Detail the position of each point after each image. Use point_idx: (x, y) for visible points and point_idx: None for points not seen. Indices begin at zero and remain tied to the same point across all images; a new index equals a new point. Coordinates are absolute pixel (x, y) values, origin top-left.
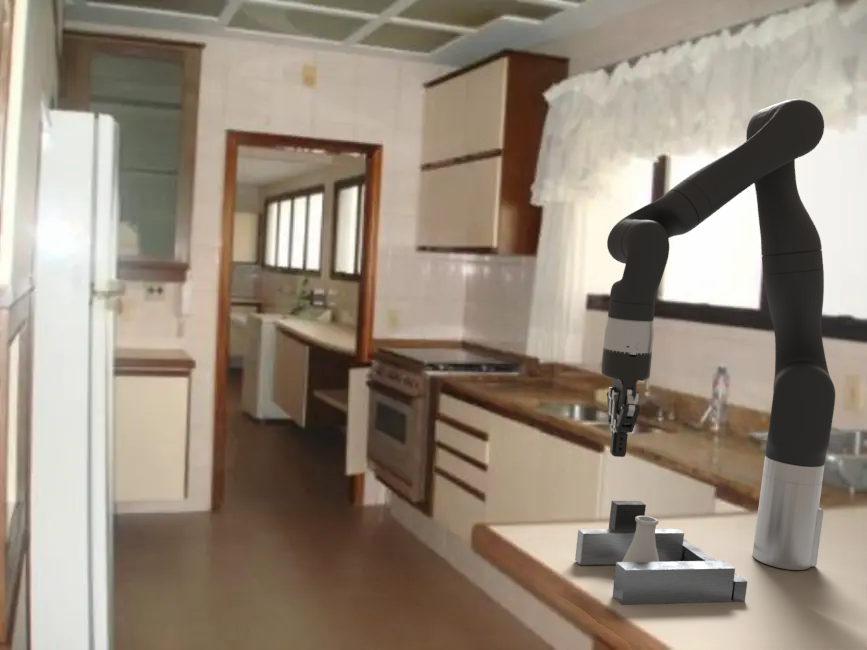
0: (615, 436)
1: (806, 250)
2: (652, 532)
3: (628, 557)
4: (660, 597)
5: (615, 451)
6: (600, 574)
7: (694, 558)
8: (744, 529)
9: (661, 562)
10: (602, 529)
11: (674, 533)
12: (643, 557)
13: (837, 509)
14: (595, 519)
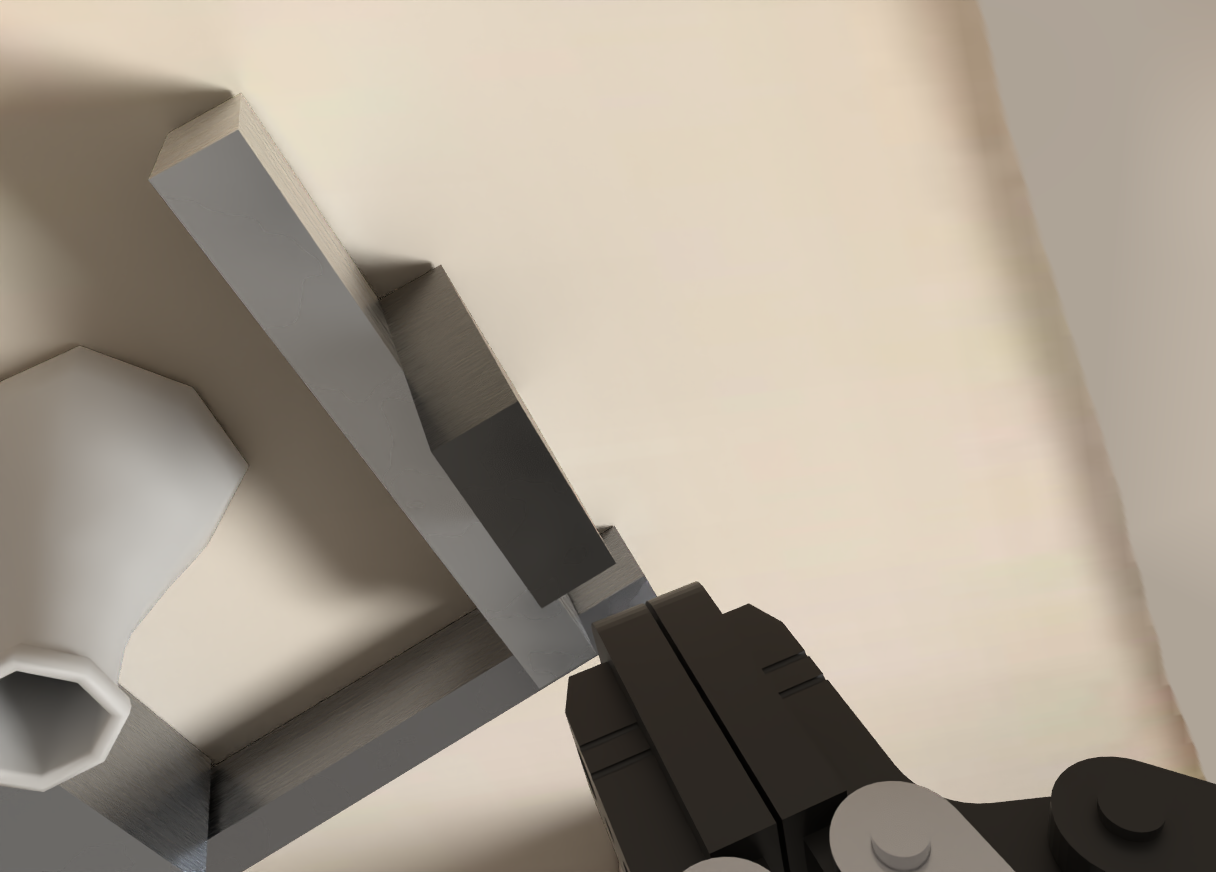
0: (691, 831)
1: None
2: (15, 712)
3: (15, 483)
4: None
5: (571, 698)
6: (99, 265)
7: (433, 684)
8: (996, 699)
9: None
10: (348, 300)
11: (513, 653)
12: None
13: None
14: (1011, 154)
